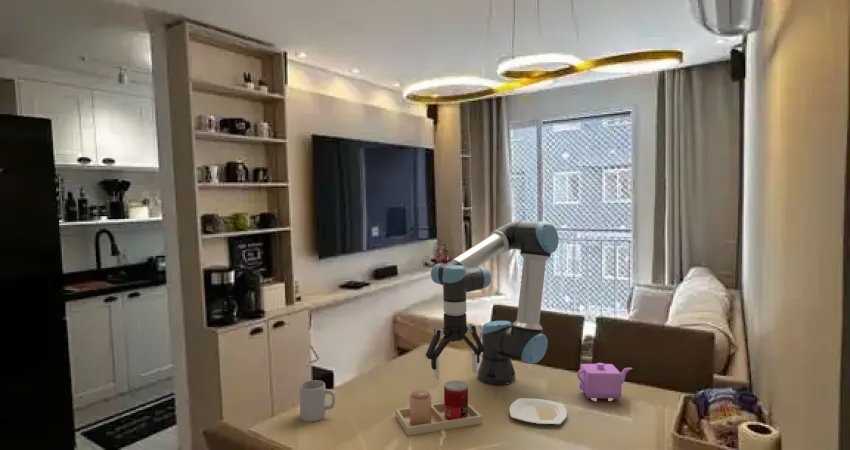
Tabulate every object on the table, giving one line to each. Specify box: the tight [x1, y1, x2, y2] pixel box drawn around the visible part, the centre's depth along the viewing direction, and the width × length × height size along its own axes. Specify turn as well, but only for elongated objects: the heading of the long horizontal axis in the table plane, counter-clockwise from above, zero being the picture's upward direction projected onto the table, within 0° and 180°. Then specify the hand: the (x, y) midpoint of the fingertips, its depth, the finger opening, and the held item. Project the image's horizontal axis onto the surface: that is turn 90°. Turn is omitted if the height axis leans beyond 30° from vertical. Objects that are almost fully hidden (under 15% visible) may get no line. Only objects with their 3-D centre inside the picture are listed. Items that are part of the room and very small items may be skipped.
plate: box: [509, 397, 568, 425], centre depth 171 cm, size 19×19×2 cm
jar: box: [409, 389, 432, 426], centre depth 164 cm, size 7×7×10 cm
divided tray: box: [395, 402, 483, 437], centre depth 166 cm, size 25×14×3 cm, turn 109°
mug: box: [299, 379, 336, 423], centre depth 170 cm, size 12×8×11 cm
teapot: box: [576, 362, 633, 399], centre depth 185 cm, size 20×10×12 cm, turn 88°
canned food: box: [443, 380, 469, 420], centre depth 168 cm, size 8×8×11 cm
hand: (455, 375), depth 167 cm, fingers open, 13 cm apart
